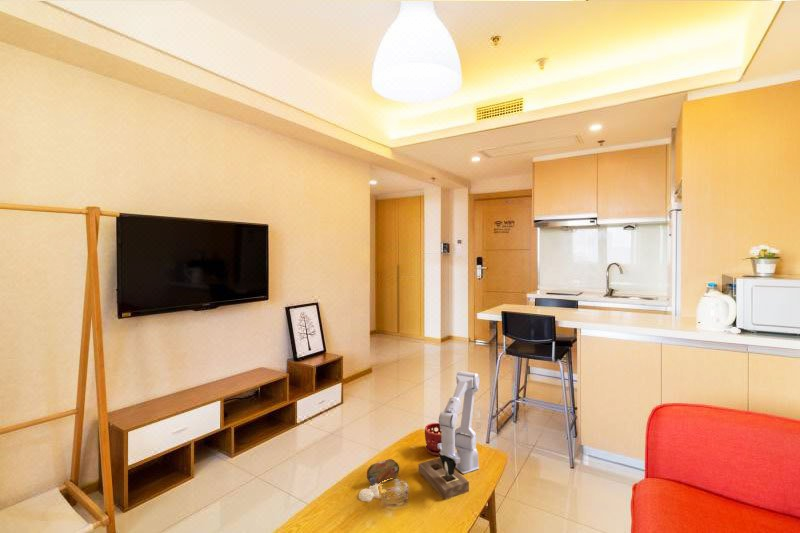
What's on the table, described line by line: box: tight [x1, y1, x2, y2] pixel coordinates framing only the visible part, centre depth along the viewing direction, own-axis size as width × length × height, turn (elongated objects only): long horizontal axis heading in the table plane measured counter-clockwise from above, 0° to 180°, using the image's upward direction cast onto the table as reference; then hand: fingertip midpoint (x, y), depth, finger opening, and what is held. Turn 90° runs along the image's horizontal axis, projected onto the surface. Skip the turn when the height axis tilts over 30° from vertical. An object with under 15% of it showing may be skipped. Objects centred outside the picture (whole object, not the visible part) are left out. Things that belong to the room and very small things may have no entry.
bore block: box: [418, 457, 470, 500], centre depth 164 cm, size 12×22×4 cm, turn 26°
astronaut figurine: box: [358, 483, 380, 503], centre depth 156 cm, size 9×12×3 cm
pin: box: [445, 461, 452, 480], centre depth 159 cm, size 3×3×7 cm
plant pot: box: [424, 422, 442, 456], centre depth 189 cm, size 13×13×12 cm
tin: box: [366, 458, 400, 486], centre depth 165 cm, size 15×3×8 cm, turn 116°
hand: (448, 472), depth 159 cm, fingers closed on pin, 3 cm apart
